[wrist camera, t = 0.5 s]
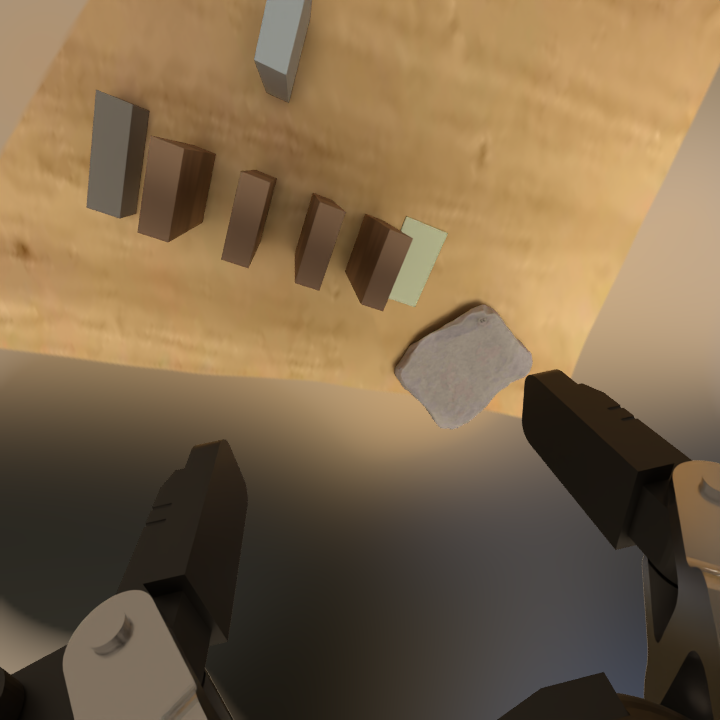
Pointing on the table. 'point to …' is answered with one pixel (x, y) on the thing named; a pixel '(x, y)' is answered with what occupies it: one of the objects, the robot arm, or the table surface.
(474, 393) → the stone block
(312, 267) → the domino
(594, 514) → the robot arm
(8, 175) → the table surface
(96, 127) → the block
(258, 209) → the domino
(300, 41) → the domino
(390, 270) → the domino
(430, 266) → the pad
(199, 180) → the domino
